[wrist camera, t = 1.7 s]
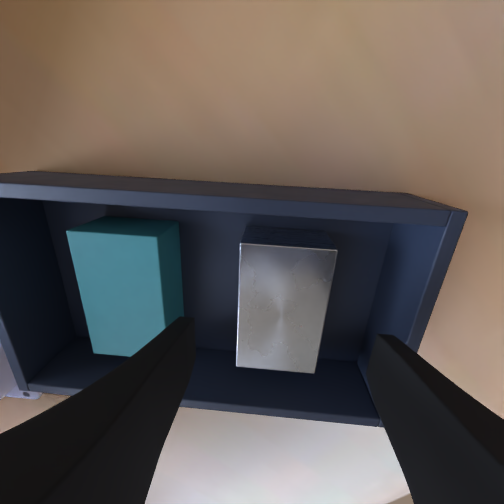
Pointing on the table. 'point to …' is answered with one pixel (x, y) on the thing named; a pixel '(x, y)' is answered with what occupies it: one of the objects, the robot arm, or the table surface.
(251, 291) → the silver metal block
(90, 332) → the block
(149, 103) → the table surface
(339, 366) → the box
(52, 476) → the robot arm
